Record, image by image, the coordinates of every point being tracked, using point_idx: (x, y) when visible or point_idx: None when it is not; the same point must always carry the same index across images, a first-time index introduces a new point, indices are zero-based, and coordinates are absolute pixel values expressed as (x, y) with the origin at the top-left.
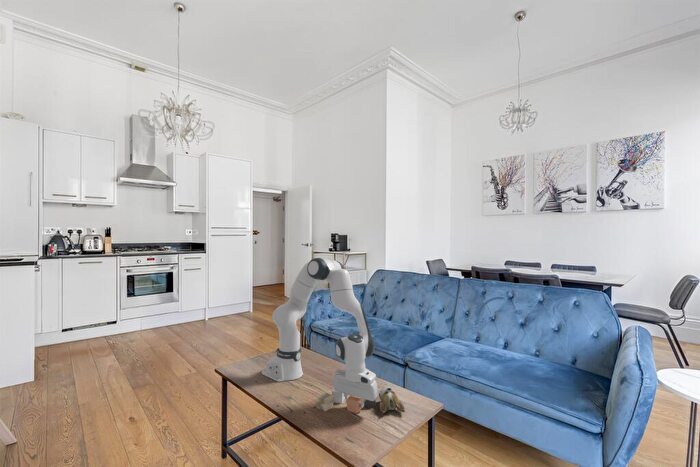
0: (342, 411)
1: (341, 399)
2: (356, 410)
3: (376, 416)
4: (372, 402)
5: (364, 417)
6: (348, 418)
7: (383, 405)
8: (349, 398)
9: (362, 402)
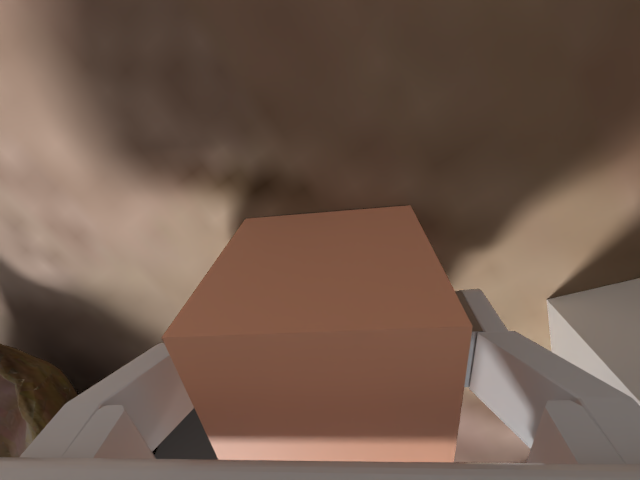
0: (460, 138)
1: (598, 337)
2: (251, 233)
3: (47, 280)
4: (185, 432)
5: (114, 190)
6: (262, 11)
7: (19, 431)
8: (414, 355)
9: (134, 369)
